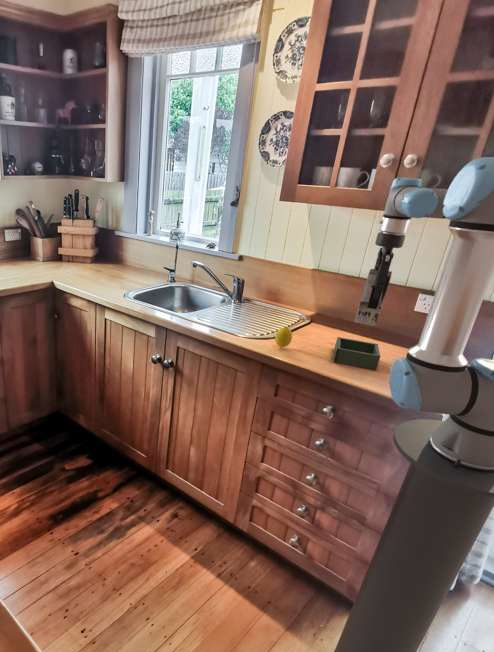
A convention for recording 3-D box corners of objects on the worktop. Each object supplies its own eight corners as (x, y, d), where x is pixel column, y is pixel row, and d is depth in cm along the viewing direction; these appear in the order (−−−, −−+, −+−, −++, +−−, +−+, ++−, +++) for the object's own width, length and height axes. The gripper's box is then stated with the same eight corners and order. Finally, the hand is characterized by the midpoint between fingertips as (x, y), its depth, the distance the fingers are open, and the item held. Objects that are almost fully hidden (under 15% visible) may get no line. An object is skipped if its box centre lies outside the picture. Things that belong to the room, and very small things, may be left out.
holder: (375, 370, 153) (380, 356, 150) (333, 362, 157) (337, 348, 155) (373, 357, 162) (377, 343, 160) (333, 349, 167) (337, 336, 165)
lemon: (273, 349, 164) (277, 328, 161) (273, 343, 169) (278, 323, 166) (289, 352, 163) (294, 330, 159) (289, 346, 168) (294, 325, 164)
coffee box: (375, 326, 148) (391, 277, 141) (353, 322, 151) (368, 273, 144) (378, 318, 155) (392, 271, 148) (357, 314, 158) (370, 267, 151)
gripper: (376, 227, 151) (357, 294, 161) (381, 236, 133) (359, 311, 143) (401, 229, 149) (381, 297, 159) (410, 239, 130) (386, 315, 140)
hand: (370, 304), depth 151 cm, fingers closed on coffee box, 9 cm apart
